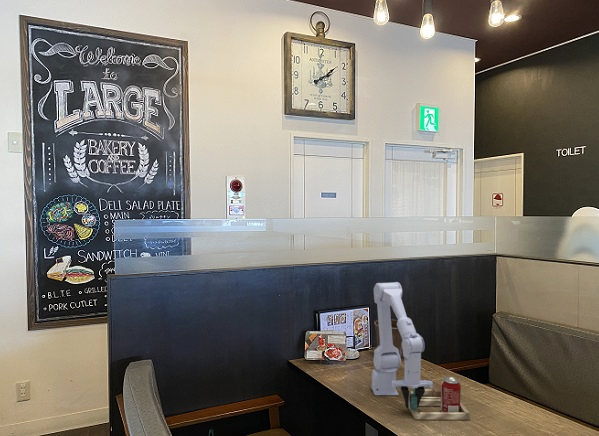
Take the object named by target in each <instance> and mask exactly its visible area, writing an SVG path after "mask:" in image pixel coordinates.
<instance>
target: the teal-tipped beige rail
mask: <svg viewBox="0 0 599 436" xmlns="http://www.w3.org/2000/svg"><path fill="white" fill-rule="evenodd" d="M419 407H441V399H421V400H420V403H419ZM467 408H468V407H466V406H465V405H464V403H463V402H462V401H461V400H460V412H442V411H441V412H438V411H435V412H434V411H433V412H432V411H431V412H429V411H428V412H427V411H425V412H424V411H421V412H418V408H417V396H416V394H411V393H409V408H408V410H409V412H410V414H411V415H412V417H413V418H414V420H436V421H437V420H441V421H442V420H447V421H449V420H454V421H455V420H459V421H460V420H462V421H463V420H466V421H470V420H471V412H470V411H469V410H468V409H467Z"/></svg>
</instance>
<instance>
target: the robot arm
mask: <svg viewBox="0 0 599 436" xmlns="http://www.w3.org/2000/svg"><path fill="white" fill-rule="evenodd" d="M402 297H403V288H402V285H401V283H400V282H398V281H395V282H377V283H376V284H375V285H374V287H373V299H374V303H375V304H377V305H376V306H377V320H378V322H379V336H380V346H378V347H377V346H376V348H375V349H374V351H373V361H372V362H373V365H374V367H375V368H374V369H372V371H371V390H372V392H373V394H374V396H399V393H398V391H397V388H400V391H401V393H402V396H403V399H404V406H405V408H407V409H409V397H410V394H411V391H410V390H409V388H412V389H413V388H415V394H416V396H417V409H419V407H420V406H419V403H420V400H421V398H422V397H424V395H423V394H424V393H425V388H430V389H432V388H433V387H434V382H433V381H432V380H425V379H424V380H423V379H421V369H422V365H421V363H422V353H423V352H424V351H425V347H426V346H425V341H424V338H423V337H422V336H421V335H420V334H419V333H417V330H416V328H415V325H414V323H413V320H412V319H411V318H410V317H408V316H407V313H406V309H405V307H404V303H403V299H402ZM391 308H392V309H391ZM391 310H392V311H393V313H394V314H395V317H396V318H397V319H396V320H398V322H397V327H398V329H399V332H400V335H401V337H402V340H403V341H402V349H403V352H402V356H403V358H404V364H403V365H404V368H403V371H404V372H403V373H404V377H403V379H399V380H397V371H398V370H399V368H400V367H401V365H402V359H401V358H402V357H400V355H399V350H398V349H397V348H396V347H395V346H393V340H392V327H391V320H392V319H391V317H392V315H391ZM389 352H392V353H389Z"/></svg>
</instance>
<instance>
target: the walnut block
mask: <svg viewBox="0 0 599 436" xmlns="http://www.w3.org/2000/svg"><path fill="white" fill-rule="evenodd" d="M431 389H432V396H431V397H441V386H440V387H439V386H437V387H434V386H433V388H431Z"/></svg>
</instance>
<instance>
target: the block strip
mask: <svg viewBox="0 0 599 436" xmlns="http://www.w3.org/2000/svg"><path fill="white" fill-rule="evenodd" d="M424 389H425V388H424ZM410 394H415V388H412V391H410ZM421 399H441V397H432V388H430V389H428V388H427V389H425V393H424V394H423V396H422V398H421Z"/></svg>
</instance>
